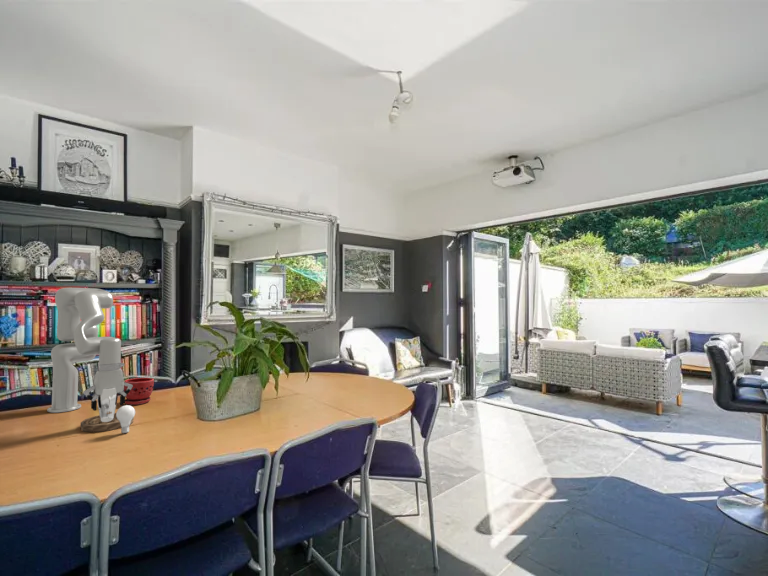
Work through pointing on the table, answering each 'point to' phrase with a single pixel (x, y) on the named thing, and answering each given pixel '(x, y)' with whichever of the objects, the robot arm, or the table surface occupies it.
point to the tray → (99, 425)
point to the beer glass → (107, 405)
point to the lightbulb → (125, 417)
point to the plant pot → (139, 390)
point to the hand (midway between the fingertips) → (108, 407)
